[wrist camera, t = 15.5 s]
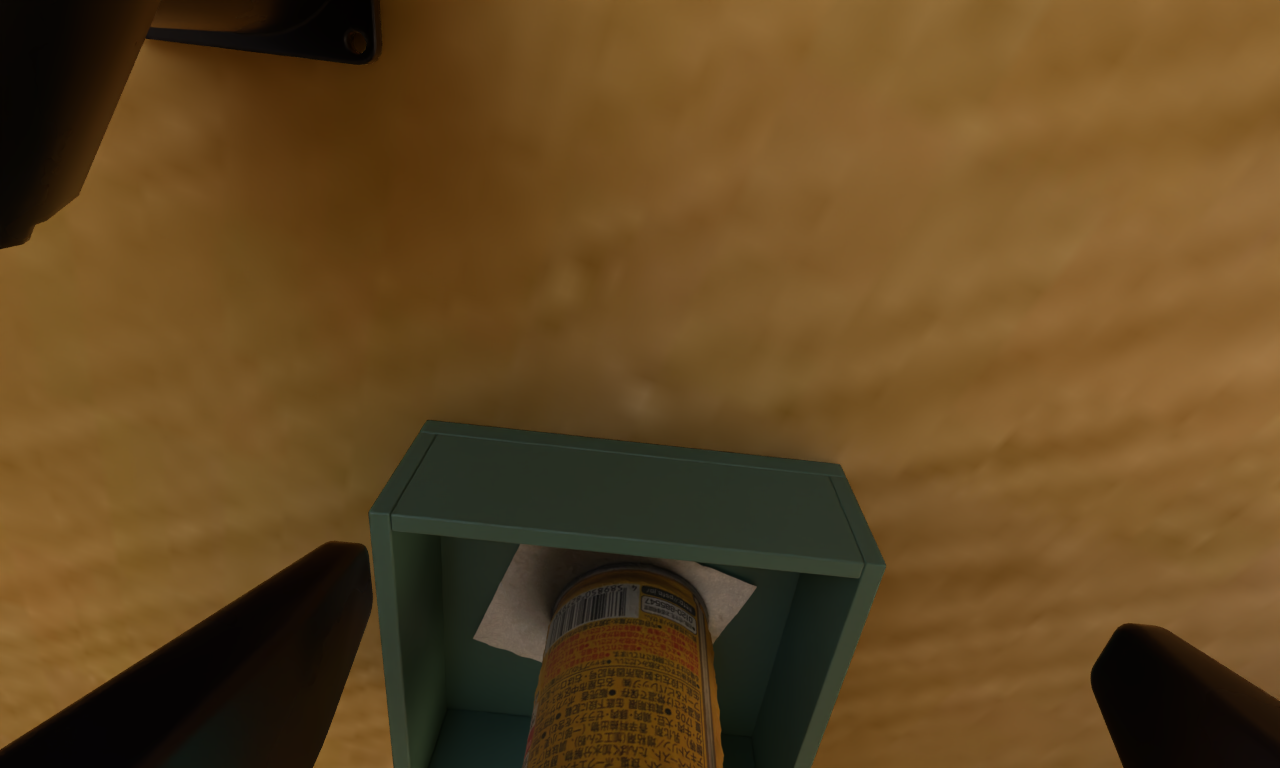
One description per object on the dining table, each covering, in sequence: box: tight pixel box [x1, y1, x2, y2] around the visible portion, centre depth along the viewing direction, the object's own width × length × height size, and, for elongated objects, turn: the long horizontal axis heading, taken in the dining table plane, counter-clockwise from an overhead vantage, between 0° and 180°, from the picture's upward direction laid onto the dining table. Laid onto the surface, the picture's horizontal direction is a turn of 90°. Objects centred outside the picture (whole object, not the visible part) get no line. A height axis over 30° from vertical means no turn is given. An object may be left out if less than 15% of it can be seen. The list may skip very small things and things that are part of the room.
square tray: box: [368, 420, 886, 768], centre depth 23 cm, size 14×14×5 cm
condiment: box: [473, 544, 757, 768], centre depth 19 cm, size 7×8×12 cm
